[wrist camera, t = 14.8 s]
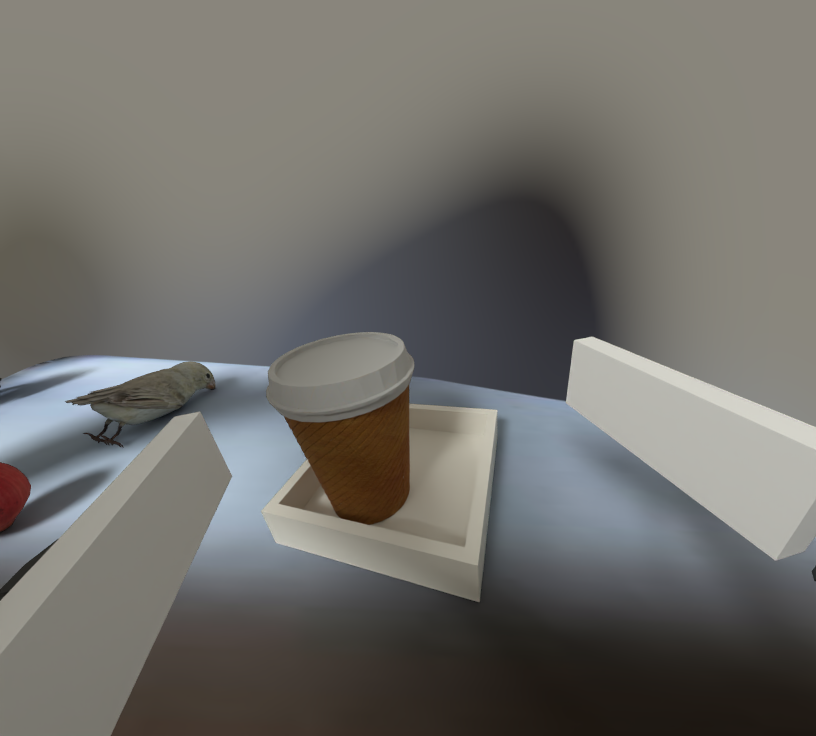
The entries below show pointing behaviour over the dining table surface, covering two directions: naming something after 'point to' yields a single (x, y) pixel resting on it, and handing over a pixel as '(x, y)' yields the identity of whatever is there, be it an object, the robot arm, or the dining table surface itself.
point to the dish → (409, 507)
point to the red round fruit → (12, 494)
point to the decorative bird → (147, 396)
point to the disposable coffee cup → (350, 418)
